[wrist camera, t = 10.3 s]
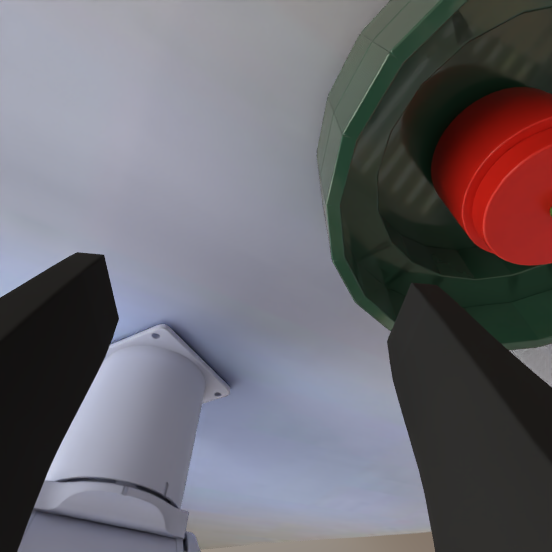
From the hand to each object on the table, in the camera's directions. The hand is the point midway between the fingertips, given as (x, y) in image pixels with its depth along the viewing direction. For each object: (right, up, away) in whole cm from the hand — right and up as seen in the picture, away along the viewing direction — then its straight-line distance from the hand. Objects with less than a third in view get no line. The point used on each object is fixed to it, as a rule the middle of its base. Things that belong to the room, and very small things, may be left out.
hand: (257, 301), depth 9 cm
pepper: (+10, +6, +7) cm, 13 cm away
